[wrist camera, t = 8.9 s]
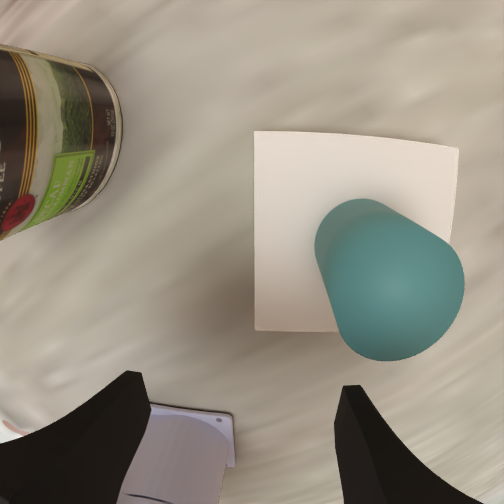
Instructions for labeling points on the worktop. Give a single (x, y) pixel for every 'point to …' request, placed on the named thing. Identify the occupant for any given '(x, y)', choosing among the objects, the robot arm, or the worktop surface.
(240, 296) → the worktop surface
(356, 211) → the teal cylinder
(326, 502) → the worktop surface
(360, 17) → the worktop surface
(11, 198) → the coffee can
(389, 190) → the plinth
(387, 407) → the worktop surface
